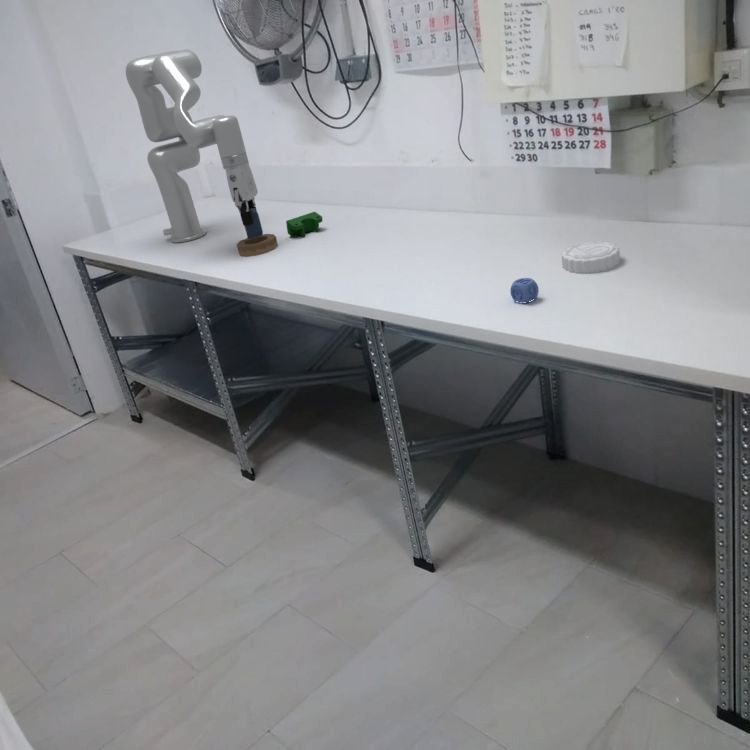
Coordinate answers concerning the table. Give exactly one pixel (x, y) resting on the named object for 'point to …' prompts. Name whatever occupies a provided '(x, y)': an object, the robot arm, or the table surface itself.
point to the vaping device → (253, 229)
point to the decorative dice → (524, 290)
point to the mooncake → (590, 257)
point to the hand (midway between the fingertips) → (251, 222)
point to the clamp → (303, 224)
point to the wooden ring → (257, 245)
